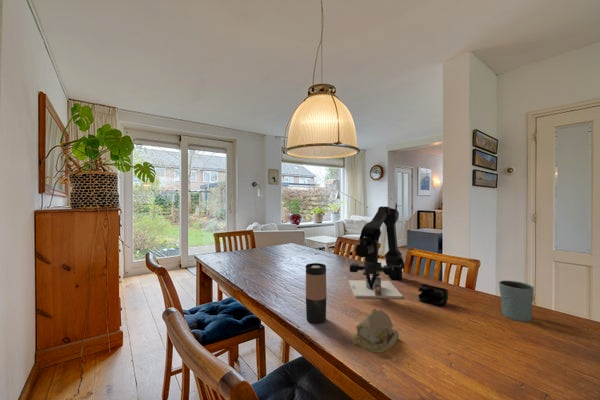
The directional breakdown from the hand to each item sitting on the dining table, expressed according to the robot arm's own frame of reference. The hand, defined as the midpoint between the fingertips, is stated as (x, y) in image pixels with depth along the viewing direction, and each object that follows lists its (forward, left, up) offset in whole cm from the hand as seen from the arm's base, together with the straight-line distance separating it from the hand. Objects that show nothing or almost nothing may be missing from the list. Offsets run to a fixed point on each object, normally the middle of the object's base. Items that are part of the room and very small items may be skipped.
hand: (371, 288), depth 117 cm
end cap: (-25, +4, -5) cm, 26 cm away
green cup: (-50, +16, -4) cm, 53 cm away
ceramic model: (+6, +35, -5) cm, 36 cm away
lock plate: (-3, -10, -4) cm, 11 cm away
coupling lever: (-3, -5, -3) cm, 7 cm away
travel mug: (+25, +22, -4) cm, 34 cm away
